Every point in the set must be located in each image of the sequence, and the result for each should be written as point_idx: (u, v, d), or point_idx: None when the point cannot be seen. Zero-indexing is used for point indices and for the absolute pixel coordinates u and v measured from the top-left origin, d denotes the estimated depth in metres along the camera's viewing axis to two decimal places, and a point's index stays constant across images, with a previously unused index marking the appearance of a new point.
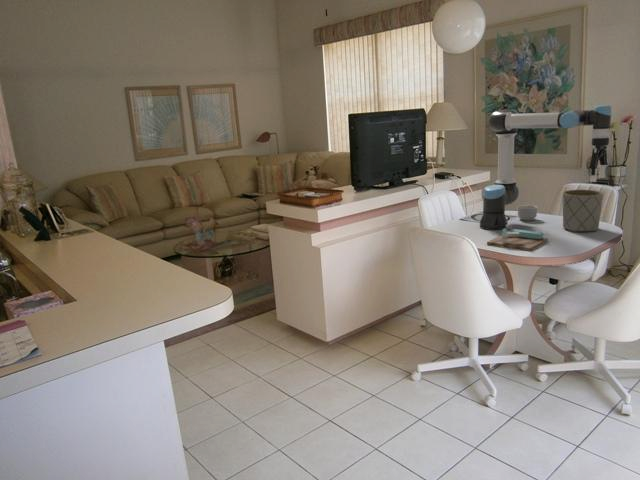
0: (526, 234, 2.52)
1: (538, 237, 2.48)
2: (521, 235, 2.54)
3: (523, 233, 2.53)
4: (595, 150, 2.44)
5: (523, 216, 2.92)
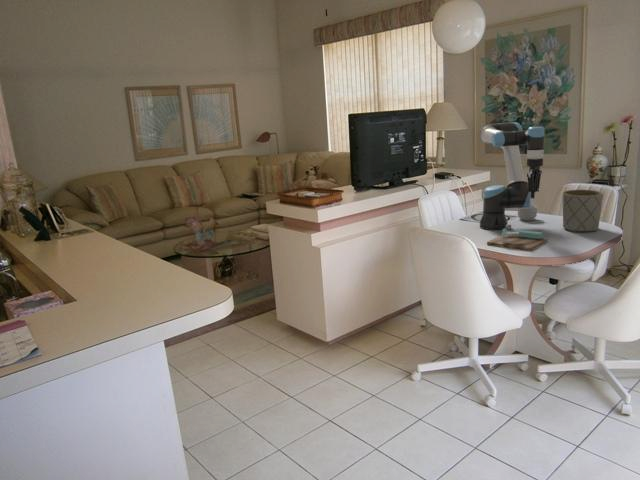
0: (526, 234, 2.52)
1: (538, 237, 2.48)
2: (521, 235, 2.54)
3: (523, 233, 2.53)
4: (529, 176, 2.48)
5: (523, 216, 2.92)
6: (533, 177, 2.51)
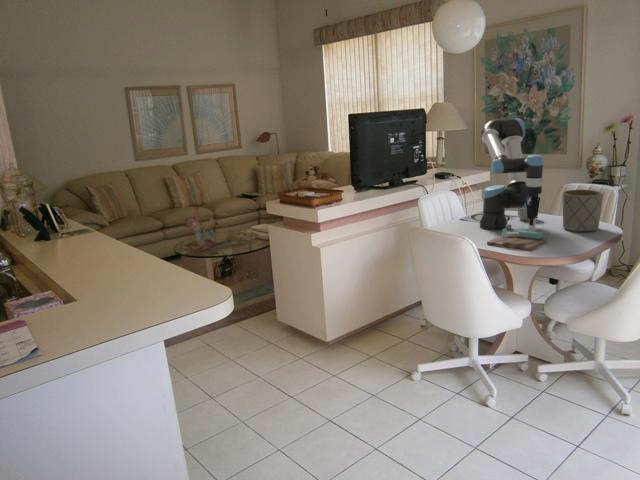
0: (526, 234, 2.52)
1: (538, 237, 2.48)
2: (521, 235, 2.54)
3: (523, 233, 2.53)
4: (528, 203, 2.52)
5: (523, 216, 2.92)
6: (532, 204, 2.54)
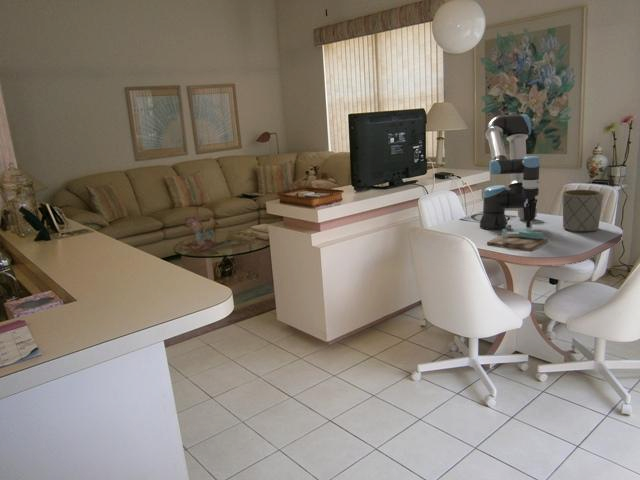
0: (526, 234, 2.52)
1: (538, 237, 2.48)
2: (521, 235, 2.54)
3: (523, 233, 2.53)
4: (525, 205, 2.47)
5: (523, 216, 2.92)
6: (529, 206, 2.50)
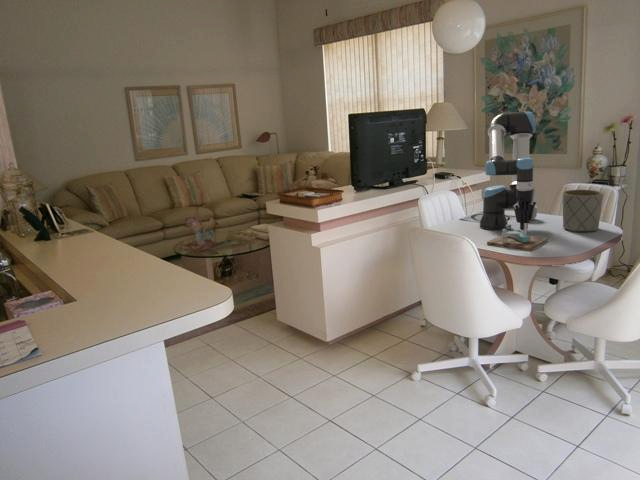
0: (515, 236, 2.50)
1: (522, 240, 2.45)
2: (512, 236, 2.53)
3: None
4: (514, 207, 2.46)
5: None
6: (521, 208, 2.47)
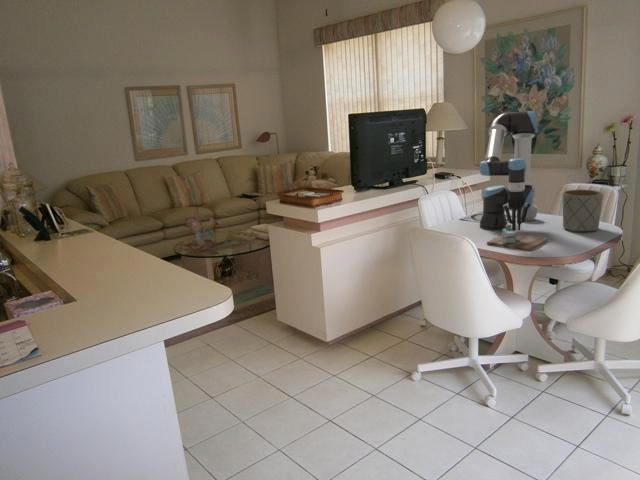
0: None
1: None
2: None
3: None
4: (504, 207, 2.47)
5: None
6: (512, 209, 2.47)
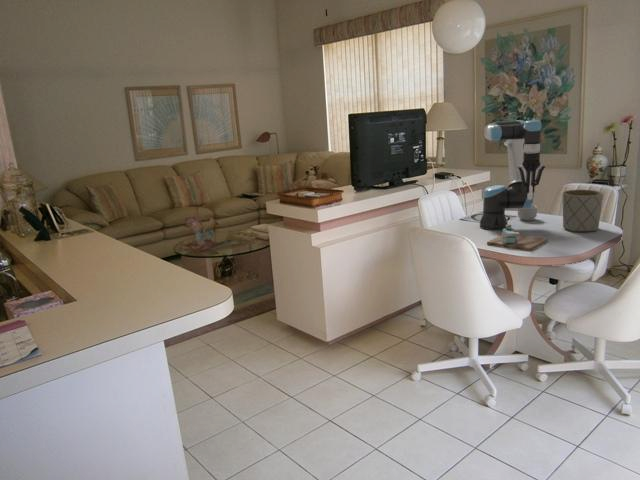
0: None
1: None
2: None
3: None
4: (518, 169, 2.50)
5: (523, 216, 2.92)
6: (527, 171, 2.49)
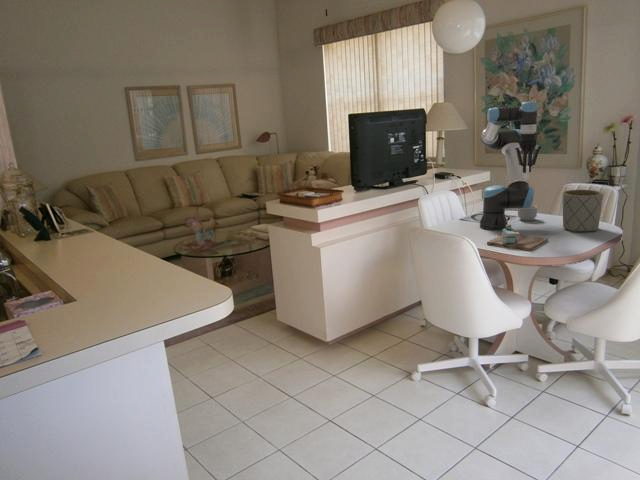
0: None
1: None
2: None
3: None
4: (515, 150, 2.57)
5: (523, 216, 2.92)
6: (524, 151, 2.57)
